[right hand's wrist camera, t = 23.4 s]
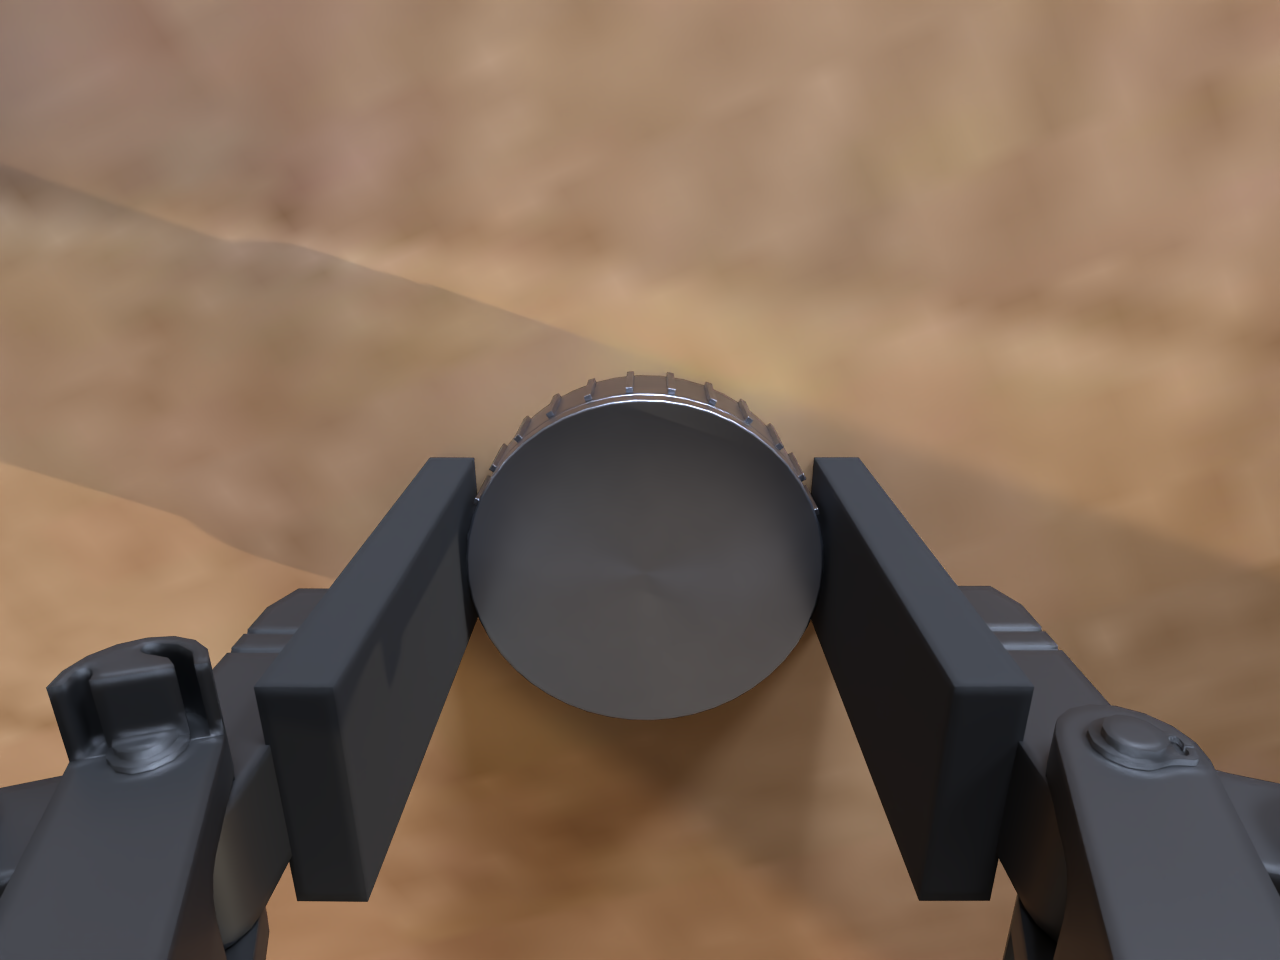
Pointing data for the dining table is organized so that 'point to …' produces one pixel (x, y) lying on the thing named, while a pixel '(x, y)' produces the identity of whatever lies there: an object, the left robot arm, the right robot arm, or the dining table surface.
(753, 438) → the lid
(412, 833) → the dining table surface
